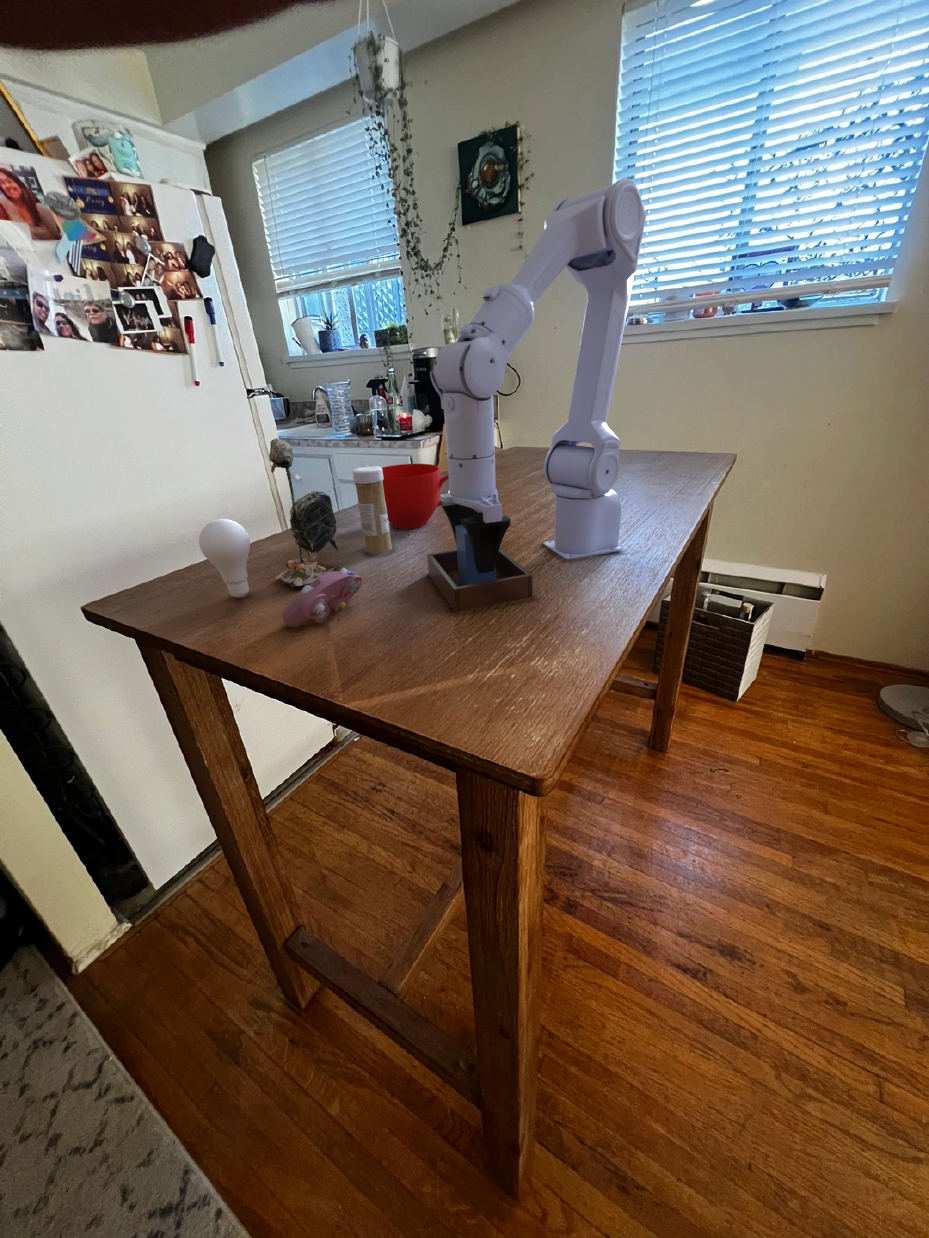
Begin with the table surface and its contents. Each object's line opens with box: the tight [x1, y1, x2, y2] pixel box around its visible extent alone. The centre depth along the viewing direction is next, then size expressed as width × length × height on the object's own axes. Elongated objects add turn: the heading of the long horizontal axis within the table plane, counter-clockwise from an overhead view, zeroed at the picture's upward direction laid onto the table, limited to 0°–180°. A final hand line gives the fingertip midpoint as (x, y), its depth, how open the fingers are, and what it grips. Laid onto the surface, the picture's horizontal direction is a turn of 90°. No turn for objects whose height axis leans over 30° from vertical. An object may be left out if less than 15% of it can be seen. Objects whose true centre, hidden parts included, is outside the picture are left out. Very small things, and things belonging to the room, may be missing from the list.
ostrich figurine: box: [268, 438, 340, 588], centre depth 71 cm, size 8×11×20 cm
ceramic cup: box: [381, 463, 449, 530], centre depth 94 cm, size 13×17×10 cm
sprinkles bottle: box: [352, 465, 393, 555], centre depth 80 cm, size 5×5×13 cm
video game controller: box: [282, 567, 363, 628], centre depth 62 cm, size 10×5×7 cm, turn 148°
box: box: [426, 548, 533, 613], centre depth 67 cm, size 10×13×3 cm
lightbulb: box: [198, 518, 251, 599], centre depth 67 cm, size 6×6×11 cm
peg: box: [455, 525, 496, 586], centre depth 66 cm, size 4×4×8 cm
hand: (475, 561), depth 66 cm, fingers open, 7 cm apart
